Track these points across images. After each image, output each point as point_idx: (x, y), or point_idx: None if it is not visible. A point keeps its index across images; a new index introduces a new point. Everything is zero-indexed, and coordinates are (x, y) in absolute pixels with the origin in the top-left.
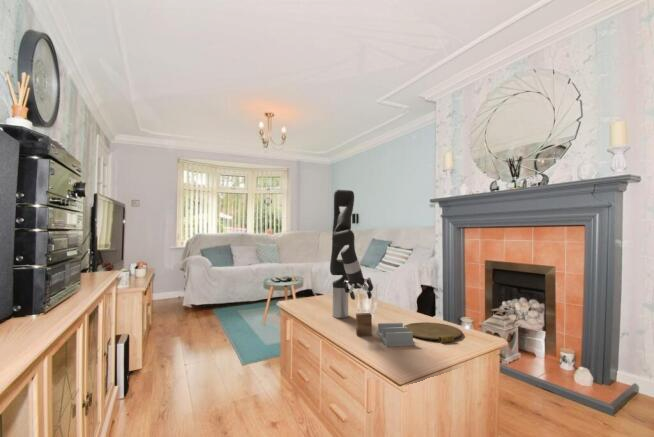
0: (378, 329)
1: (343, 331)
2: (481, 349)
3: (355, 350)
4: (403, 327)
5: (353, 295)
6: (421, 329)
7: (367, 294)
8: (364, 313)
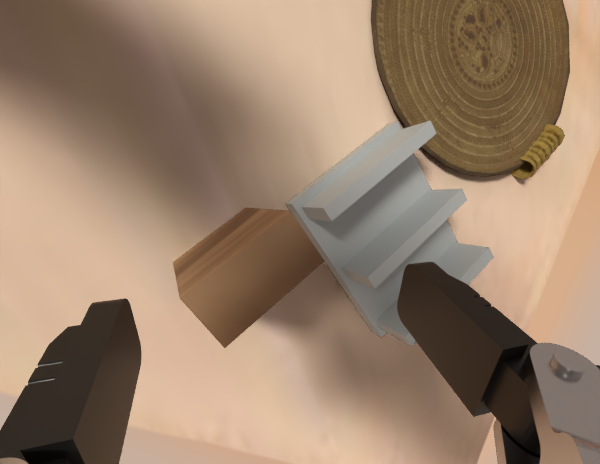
0: (311, 214)
1: (64, 273)
2: (589, 169)
3: (280, 458)
4: (452, 207)
5: (117, 390)
6: (454, 52)
7: (446, 376)
8: (255, 254)
